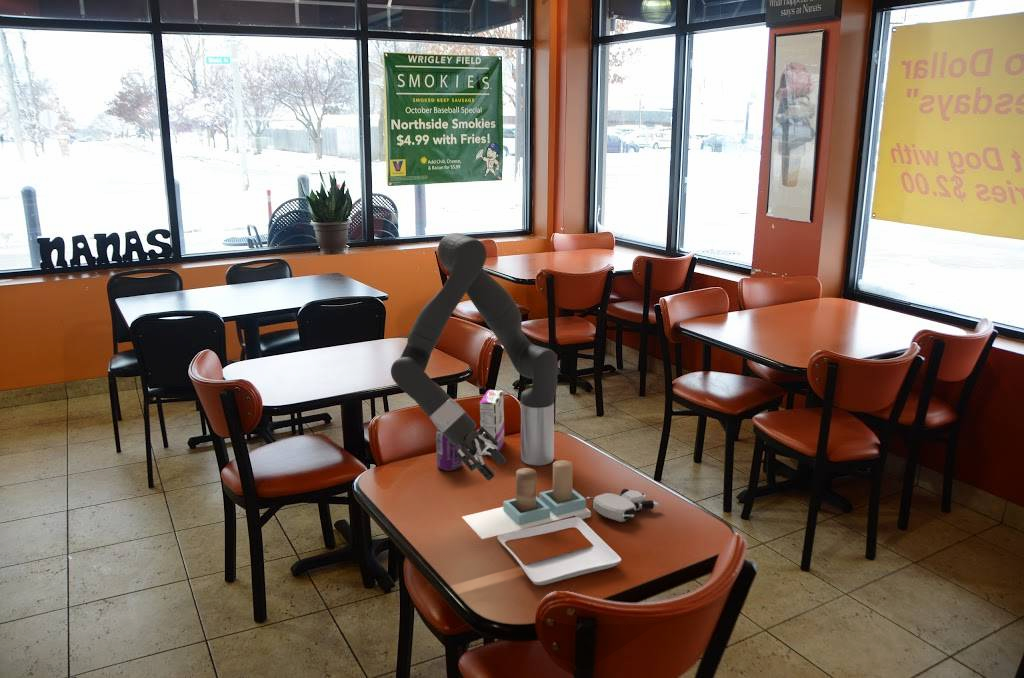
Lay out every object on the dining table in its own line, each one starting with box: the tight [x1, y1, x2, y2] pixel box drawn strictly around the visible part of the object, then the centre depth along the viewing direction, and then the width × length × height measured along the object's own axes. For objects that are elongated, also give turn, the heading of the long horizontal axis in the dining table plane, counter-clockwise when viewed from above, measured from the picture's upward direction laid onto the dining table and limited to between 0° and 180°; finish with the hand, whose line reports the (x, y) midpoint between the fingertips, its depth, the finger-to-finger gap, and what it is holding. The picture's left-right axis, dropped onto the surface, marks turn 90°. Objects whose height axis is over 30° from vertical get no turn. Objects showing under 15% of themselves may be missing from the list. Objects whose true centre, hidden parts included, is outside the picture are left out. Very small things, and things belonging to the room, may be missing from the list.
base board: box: [461, 459, 592, 540], centre depth 196 cm, size 12×29×12 cm, turn 116°
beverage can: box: [435, 428, 464, 471], centre depth 226 cm, size 7×7×12 cm
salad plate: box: [497, 516, 622, 586], centre depth 180 cm, size 21×21×3 cm
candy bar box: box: [478, 389, 506, 457], centre depth 237 cm, size 11×5×16 cm, turn 168°
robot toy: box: [586, 488, 660, 523], centre depth 200 cm, size 12×4×15 cm
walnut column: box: [515, 467, 537, 513], centre depth 196 cm, size 5×5×11 cm
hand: (498, 470), depth 197 cm, fingers open, 8 cm apart
